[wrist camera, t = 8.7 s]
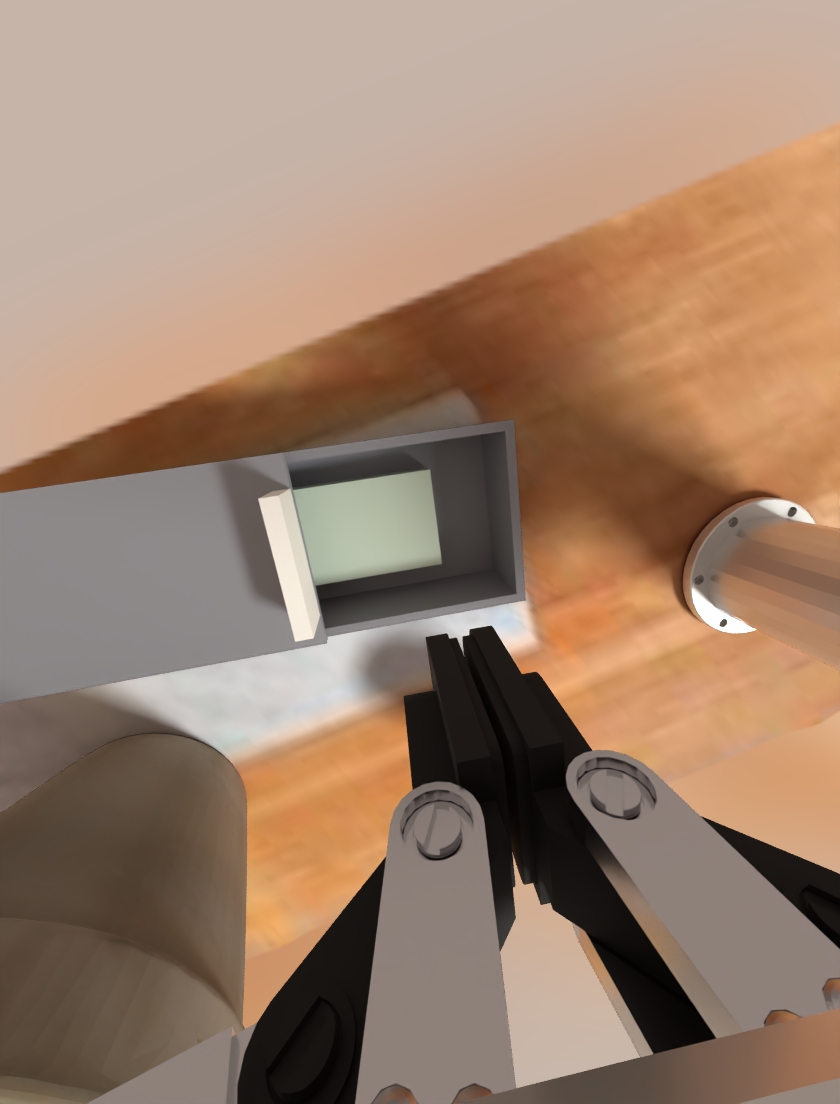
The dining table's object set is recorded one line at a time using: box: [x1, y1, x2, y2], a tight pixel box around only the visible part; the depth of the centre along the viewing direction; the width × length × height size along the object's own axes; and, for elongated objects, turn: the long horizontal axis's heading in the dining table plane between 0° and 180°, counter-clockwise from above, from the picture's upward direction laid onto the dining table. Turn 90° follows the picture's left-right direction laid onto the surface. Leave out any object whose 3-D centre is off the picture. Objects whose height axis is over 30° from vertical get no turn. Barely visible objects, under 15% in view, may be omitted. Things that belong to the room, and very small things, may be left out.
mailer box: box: [284, 419, 526, 637], centre depth 27 cm, size 20×12×6 cm, turn 98°
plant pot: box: [0, 734, 247, 1104], centre depth 24 cm, size 25×25×22 cm
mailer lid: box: [0, 452, 328, 704], centre depth 21 cm, size 20×12×4 cm, turn 98°
